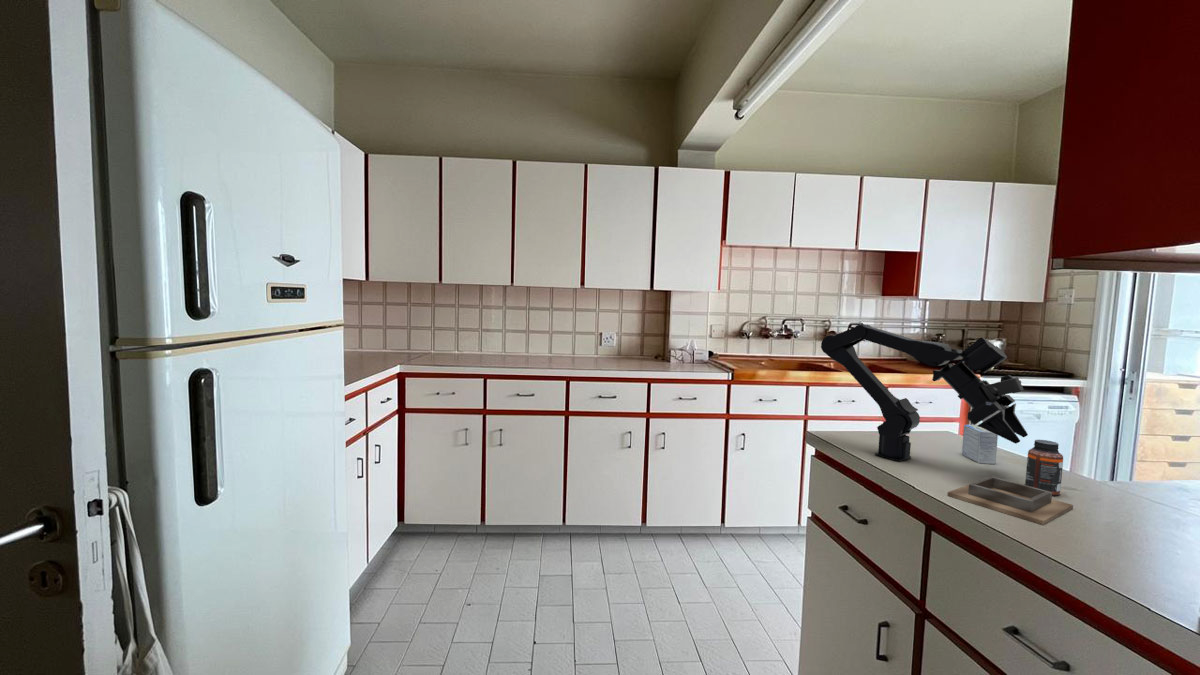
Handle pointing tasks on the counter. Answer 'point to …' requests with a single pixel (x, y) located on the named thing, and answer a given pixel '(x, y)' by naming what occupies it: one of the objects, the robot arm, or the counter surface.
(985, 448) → the medicine box
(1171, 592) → the counter surface
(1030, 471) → the supplement bottle
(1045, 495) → the socket board
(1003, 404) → the robot arm
